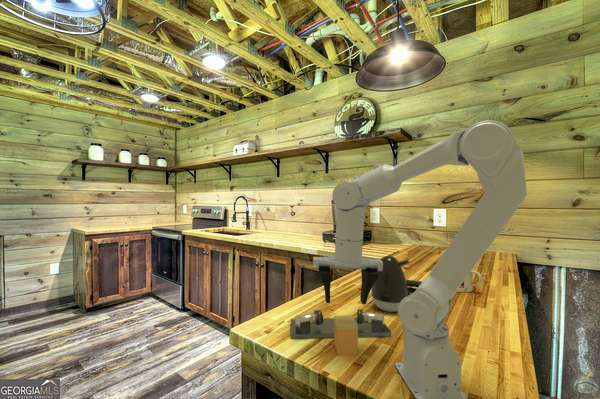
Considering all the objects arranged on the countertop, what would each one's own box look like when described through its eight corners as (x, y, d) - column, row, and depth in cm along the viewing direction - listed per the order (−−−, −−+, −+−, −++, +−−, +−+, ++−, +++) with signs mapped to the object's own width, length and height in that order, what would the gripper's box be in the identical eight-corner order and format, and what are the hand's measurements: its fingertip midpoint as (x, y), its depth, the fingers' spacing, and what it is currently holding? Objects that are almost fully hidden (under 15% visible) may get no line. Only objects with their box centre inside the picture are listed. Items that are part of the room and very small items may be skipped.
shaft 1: (299, 335, 62) (299, 317, 62) (294, 329, 65) (294, 311, 65) (323, 330, 64) (323, 312, 64) (317, 324, 67) (317, 308, 67)
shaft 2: (384, 327, 66) (384, 310, 66) (383, 333, 63) (383, 315, 63) (358, 323, 68) (358, 307, 68) (357, 329, 65) (357, 312, 65)
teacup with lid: (438, 287, 98) (438, 254, 98) (451, 283, 103) (451, 252, 103) (475, 297, 88) (475, 261, 88) (488, 292, 93) (487, 257, 93)
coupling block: (352, 342, 61) (352, 315, 61) (357, 355, 56) (357, 325, 56) (334, 342, 61) (334, 315, 61) (338, 355, 56) (338, 326, 56)
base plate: (391, 336, 63) (391, 332, 63) (291, 338, 63) (290, 334, 63) (380, 321, 71) (380, 317, 71) (290, 323, 71) (290, 319, 71)
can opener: (441, 299, 87) (441, 281, 87) (432, 305, 82) (432, 286, 82) (389, 286, 100) (389, 271, 100) (379, 291, 95) (379, 275, 95)
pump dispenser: (412, 317, 74) (412, 260, 74) (372, 314, 76) (371, 258, 76) (405, 303, 84) (405, 253, 84) (370, 300, 86) (370, 251, 86)
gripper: (377, 236, 63) (373, 295, 63) (313, 234, 62) (310, 293, 63) (387, 243, 56) (383, 309, 56) (316, 240, 55) (312, 306, 56)
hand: (345, 301), depth 59 cm, fingers open, 7 cm apart
